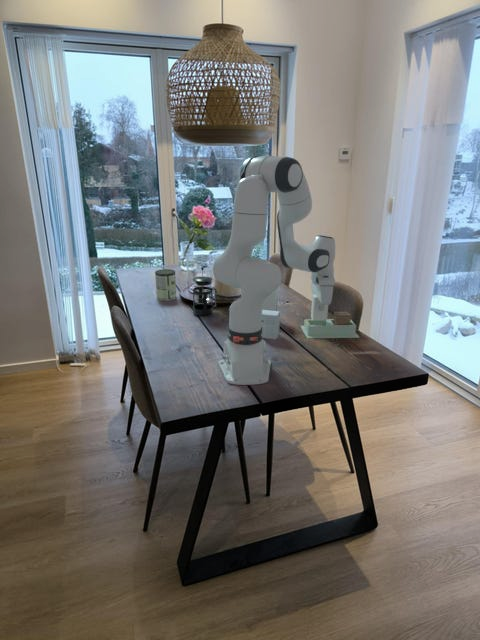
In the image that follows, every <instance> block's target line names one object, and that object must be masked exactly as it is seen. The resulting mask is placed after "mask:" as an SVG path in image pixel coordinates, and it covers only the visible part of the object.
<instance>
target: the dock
mask: <svg viewBox="0 0 480 640" xmlns="http://www.w3.org/2000/svg"><path fill="white" fill-rule="evenodd" d="M333 320H334V318H332V319H331V318H327V320H312V318H311V319H304V321H303V325H300V329H301V330H302V331H303V333H304V336H305V337H306V339H343V338H345V339H348V338H349V339H352V338H353V339H354V338H356V339H357V338H358V339H359V338H360V337H361V336H359V334H358V333H357V325H356V323H355V322H354V321H353V320H352V319H351V320H350V325H334V324H333Z"/></svg>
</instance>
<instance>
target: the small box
mask: <svg viewBox="0 0 480 640" xmlns="http://www.w3.org/2000/svg"><path fill="white" fill-rule="evenodd" d="M280 318H281V311H279V310H277V311H270V310H262V319H261V327H262V331H263V334H262V339H269V340H277V339H278V337H279V335H280V322H281V321H280Z"/></svg>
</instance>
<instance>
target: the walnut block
mask: <svg viewBox="0 0 480 640" xmlns="http://www.w3.org/2000/svg"><path fill="white" fill-rule="evenodd" d="M333 319H334V320H333V324H334V325H350V320H352V314H351V312H349V311H334V312H333Z"/></svg>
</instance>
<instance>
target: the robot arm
mask: <svg viewBox="0 0 480 640" xmlns="http://www.w3.org/2000/svg"><path fill="white" fill-rule="evenodd" d="M239 175H240V176H239V177H240V180H239V181H238V183H237V185H236V189H235V193H234V198H233V207H232V209H233V210H232V221H231V233H230V239H229V241H228V243H227V246H226V248H225V250H224V251H223V252H222V253H221V254H220V255H218V256H217V258H215V260H214V262H213V267H212V272H213V276H214V278H215V279H216V280H217V281H219V282H220V283H222V284H224V285H226V286H227V287H232V288H238V289H239V290H241V296H240V297H239V298H238V299H236V300H234V301H233V302H232V303H231V305H230V306H229V310H228V311H229V315H228V316H229V317H228V318H229V319H228V321H229V322H228V323H229V324H228V327H227V339H226V340H225V341H224V342H223V356H222V359H221V360H219V361H218V362H217V365H218V367H219V369H220V372H221V374H222V375H223V377H224V380H225V381H226V383H228V384H231V385H239V386H241V385H242V386H255V385H261V384H262V385H263V384H266V383H268V382H269V379H270V378H269V377H270V372H271V371H270V370H271V365H272V364H271V363H272V362H271V360H270V359H269V356H268V355H266V353H268V348H266V341H265V340H264V338H262V334H263V331H262V327H261V319H262V309H263V305H264V302H265V300H266V298H267V297H268V296H269V295H270V294H271V293H273V292H275V291H276V292H277V290H278V289H279V287H280V285H281V283H282V279H283V278H282V270H281V268H280V266H279V265H277V264H276V263H274V262H272V261H270V260H267V259H262V258H258V257H253V256H252V254H253V251H254V248H255V247H257V246H258V245H259V244H261V243H262V242H264V241H265V239H266V235H267V226H268V224H267V223H268V211H269V199H268V197H269V195H270V193H276V194H277V199H278V202H279V206H280V207H279V210H278V212H277V214H276V223H277V225H276V226H277V232H278V239H279V246H280V247H279V248H280V251H279V258H280V262H281V264H282V265H283V267H284V268H286V269H293V270H299V271H304V272H307V273H308V272H309V273H310V280H311V287H310V288H311V289H310V290H311V292H312V294H315V295H316V296H317V299H318V300H319V301H320V302H319V303H320V305H319V310H320V311H323V310H324V306H325V305H328V306H329V305H331V303H332V300H333V293H334V286H335V285H336V279H335V276H334V274H335V266H334V262H335V258H336V241H335V238H334V237H332V236H327V235H322V234H321V235H320V234H319V235H318V234H317V235H315V238H314V241H313V242H312V243H311V244H309V245H304V244H301V243H298V242H297V241H296V240H295V234H294V224H298V223H299V222H301V221H303V220H305V219H306V218H307V217H308V216H309V215H310V213H311V211H312V209H313V200H312V195H311V191H310V188H309V184H308V181H307V178H306V176H305V174H304V171H303V167H302V165H301V163H300V162H299V160H297V159H295V158H293V157H290V156H285V157H282V156H278V155H277V156H274V155H261V156H258V155H254V156H252V157H249V158H247V159H245V160H244V162H243V163H242V165H241V168H240V174H239Z"/></svg>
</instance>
